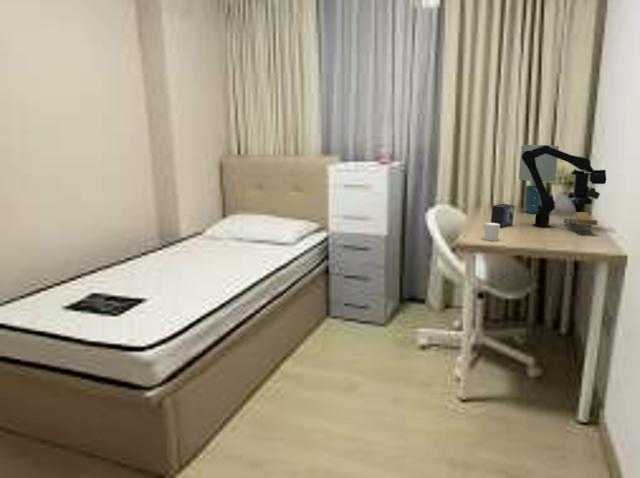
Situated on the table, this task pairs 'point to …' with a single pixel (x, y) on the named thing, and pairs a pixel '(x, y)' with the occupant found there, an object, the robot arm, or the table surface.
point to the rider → (580, 215)
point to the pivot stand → (579, 228)
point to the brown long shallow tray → (581, 222)
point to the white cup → (491, 231)
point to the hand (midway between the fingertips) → (578, 215)
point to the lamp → (547, 173)
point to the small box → (502, 214)
